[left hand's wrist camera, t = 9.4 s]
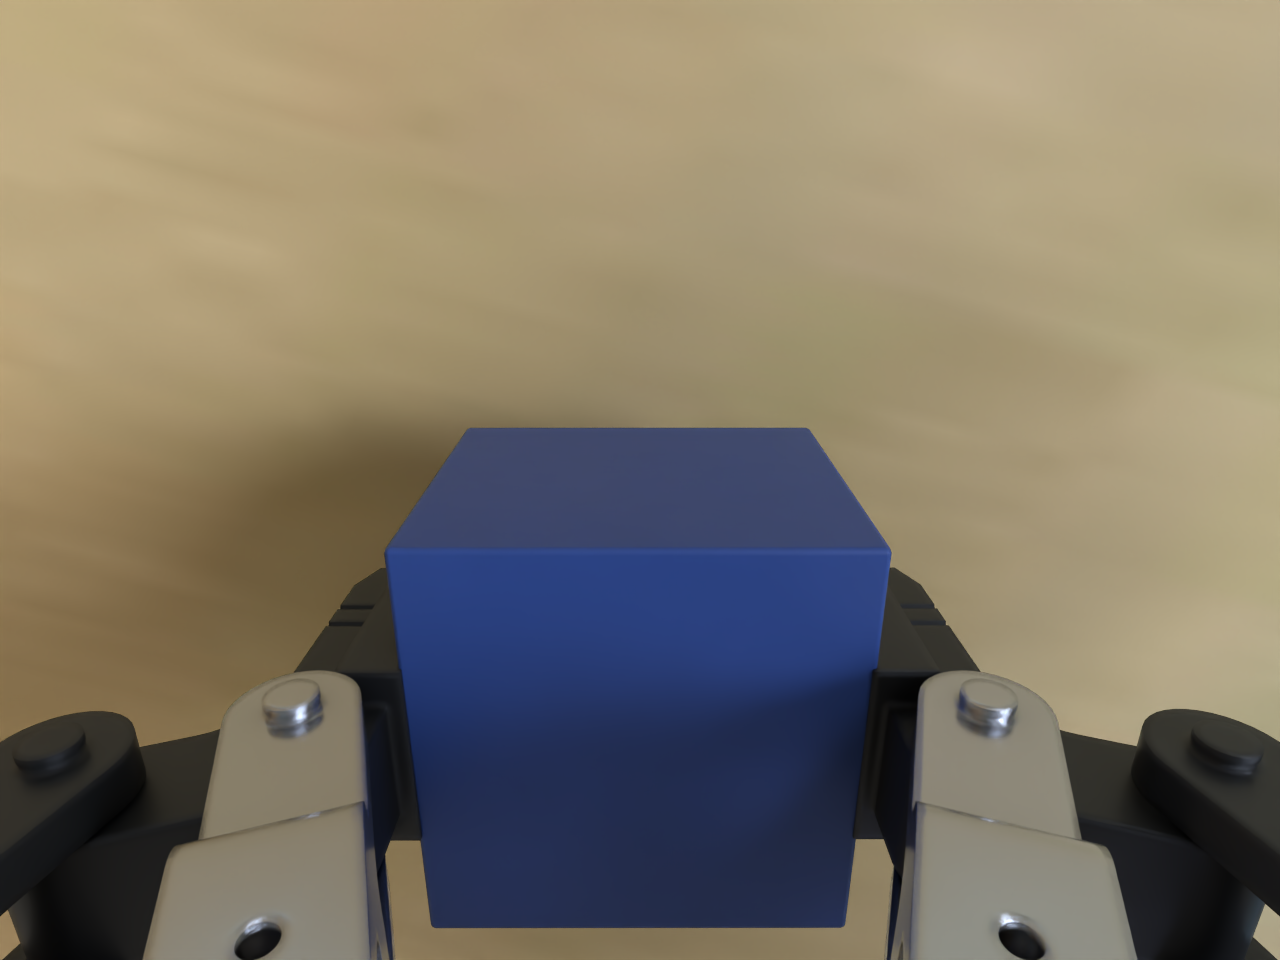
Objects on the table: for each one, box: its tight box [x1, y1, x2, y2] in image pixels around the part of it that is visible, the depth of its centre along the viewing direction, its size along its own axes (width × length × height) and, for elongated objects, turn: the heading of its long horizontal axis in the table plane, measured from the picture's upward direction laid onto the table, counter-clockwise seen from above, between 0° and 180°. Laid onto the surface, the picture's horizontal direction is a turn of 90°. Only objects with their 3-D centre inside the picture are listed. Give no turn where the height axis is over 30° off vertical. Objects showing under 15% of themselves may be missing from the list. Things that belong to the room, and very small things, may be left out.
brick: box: [384, 428, 891, 928], centre depth 10 cm, size 5×5×4 cm
